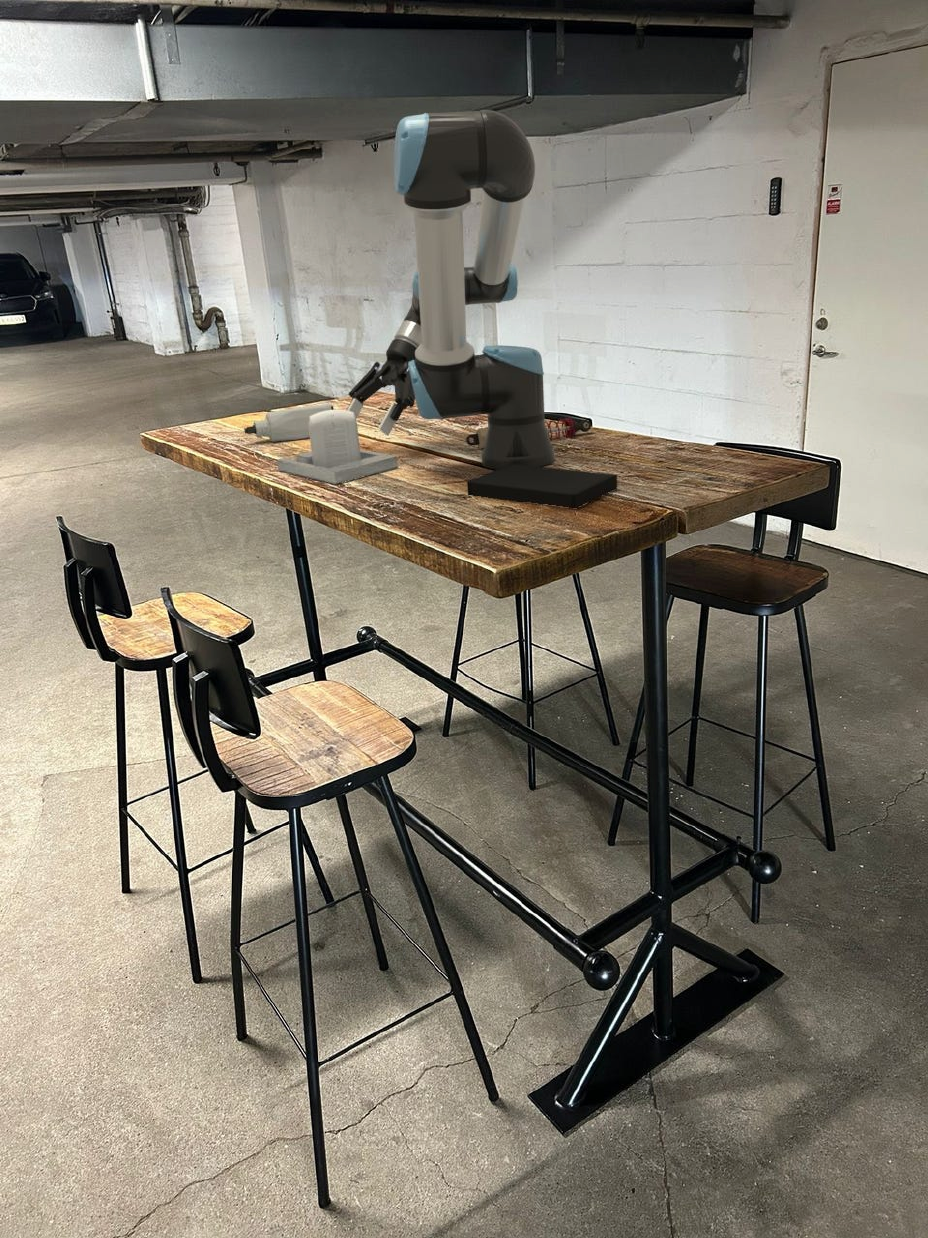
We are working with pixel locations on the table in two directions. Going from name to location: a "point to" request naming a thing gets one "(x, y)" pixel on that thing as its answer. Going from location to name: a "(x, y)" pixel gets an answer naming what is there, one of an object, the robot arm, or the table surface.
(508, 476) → the external hard drive
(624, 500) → the table surface
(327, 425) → the photo printer
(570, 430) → the shock absorber
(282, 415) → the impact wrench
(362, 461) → the plate
